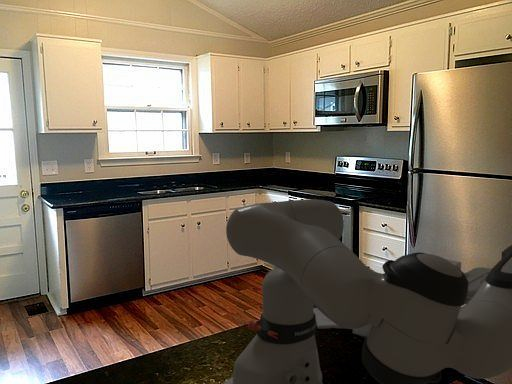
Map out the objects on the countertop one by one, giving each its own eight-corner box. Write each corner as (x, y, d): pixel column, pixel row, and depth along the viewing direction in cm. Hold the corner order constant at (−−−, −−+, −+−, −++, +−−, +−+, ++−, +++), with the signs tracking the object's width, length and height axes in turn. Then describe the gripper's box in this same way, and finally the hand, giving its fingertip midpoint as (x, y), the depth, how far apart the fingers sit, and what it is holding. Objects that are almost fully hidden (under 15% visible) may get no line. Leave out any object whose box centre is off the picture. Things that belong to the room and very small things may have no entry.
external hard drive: (339, 312, 132) (347, 330, 119) (312, 313, 132) (318, 330, 120) (339, 307, 132) (347, 324, 119) (312, 307, 132) (317, 325, 119)
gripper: (480, 316, 96) (421, 300, 106) (513, 292, 109) (458, 280, 120) (481, 288, 95) (421, 275, 105) (514, 268, 109) (458, 258, 119)
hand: (441, 277), depth 113 cm, fingers closed on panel, 5 cm apart
